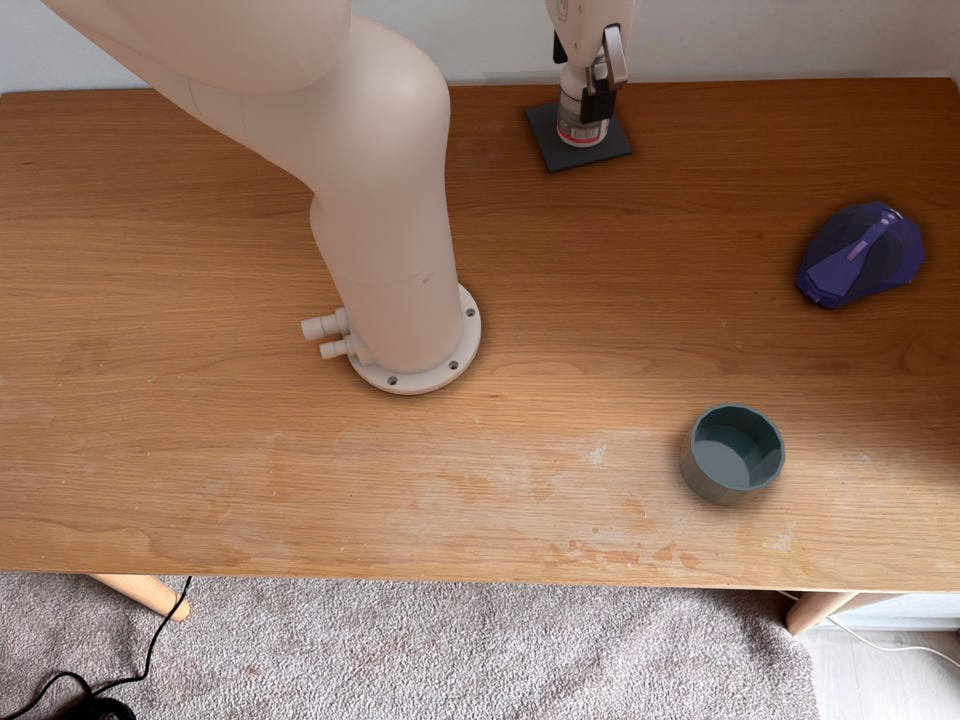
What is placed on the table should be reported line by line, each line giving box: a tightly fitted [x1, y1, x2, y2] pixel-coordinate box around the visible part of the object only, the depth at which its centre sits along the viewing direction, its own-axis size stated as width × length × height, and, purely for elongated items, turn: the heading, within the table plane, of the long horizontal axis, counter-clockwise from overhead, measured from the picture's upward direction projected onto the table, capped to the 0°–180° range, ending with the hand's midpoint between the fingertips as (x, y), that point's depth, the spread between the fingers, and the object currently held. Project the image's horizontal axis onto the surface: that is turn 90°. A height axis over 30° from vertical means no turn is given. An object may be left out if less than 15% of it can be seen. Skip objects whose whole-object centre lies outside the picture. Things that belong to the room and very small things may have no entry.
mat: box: [524, 101, 634, 174], centre depth 73 cm, size 9×9×1 cm
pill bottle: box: [557, 46, 609, 147], centre depth 68 cm, size 5×5×10 cm
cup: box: [678, 402, 786, 507], centre depth 54 cm, size 7×7×4 cm
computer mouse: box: [795, 200, 926, 310], centre depth 63 cm, size 9×15×4 cm, turn 132°
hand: (581, 88), depth 68 cm, fingers open, 8 cm apart
